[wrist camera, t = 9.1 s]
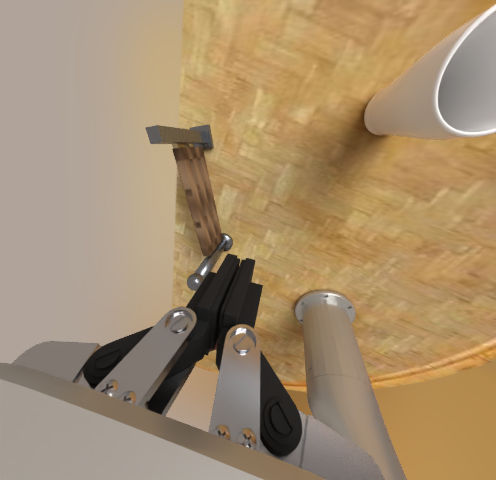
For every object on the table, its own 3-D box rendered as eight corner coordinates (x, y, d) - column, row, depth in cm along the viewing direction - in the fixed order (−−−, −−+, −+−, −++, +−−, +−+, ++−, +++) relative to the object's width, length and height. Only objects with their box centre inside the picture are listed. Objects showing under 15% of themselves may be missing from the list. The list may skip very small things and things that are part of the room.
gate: (222, 238, 36) (209, 256, 30) (217, 238, 36) (203, 256, 30) (202, 146, 28) (180, 147, 23) (195, 147, 29) (172, 148, 23)
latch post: (215, 156, 30) (175, 163, 20) (197, 159, 31) (150, 166, 21) (209, 125, 28) (161, 114, 18) (191, 128, 29) (134, 119, 18)
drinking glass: (344, 125, 24) (404, 105, 12) (386, 65, 21) (535, -61, 8) (385, 151, 25) (487, 158, 12) (432, 95, 21) (647, 21, 8)
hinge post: (234, 249, 38) (207, 298, 26) (217, 249, 39) (183, 296, 27) (231, 232, 36) (201, 277, 24) (213, 233, 37) (175, 276, 25)
